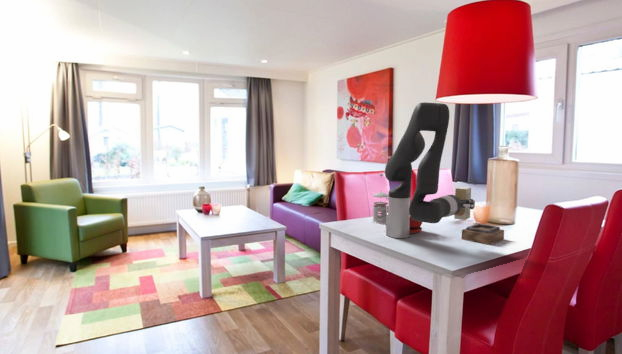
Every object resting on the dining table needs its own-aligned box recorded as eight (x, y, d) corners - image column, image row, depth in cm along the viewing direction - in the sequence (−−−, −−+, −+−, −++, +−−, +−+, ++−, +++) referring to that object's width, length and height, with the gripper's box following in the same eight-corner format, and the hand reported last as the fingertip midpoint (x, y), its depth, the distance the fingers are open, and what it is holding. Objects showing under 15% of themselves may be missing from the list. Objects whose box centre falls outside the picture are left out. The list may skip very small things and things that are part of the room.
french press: (367, 220, 198) (367, 173, 196) (385, 218, 203) (386, 172, 200) (378, 224, 189) (378, 174, 187) (396, 222, 194) (397, 173, 192)
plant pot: (425, 235, 166) (425, 208, 165) (394, 234, 169) (395, 207, 168) (422, 228, 179) (423, 203, 178) (394, 227, 182) (394, 203, 181)
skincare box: (459, 216, 152) (460, 186, 151) (470, 217, 149) (471, 187, 148) (453, 218, 147) (454, 187, 146) (465, 220, 144) (466, 188, 143)
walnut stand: (461, 239, 160) (462, 227, 159) (475, 234, 168) (476, 222, 168) (490, 244, 151) (490, 232, 150) (503, 239, 159) (504, 227, 159)
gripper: (466, 197, 132) (484, 193, 144) (428, 193, 142) (448, 190, 154) (466, 218, 133) (483, 212, 145) (428, 213, 143) (447, 208, 155)
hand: (465, 201), depth 150 cm, fingers closed on skincare box, 4 cm apart
